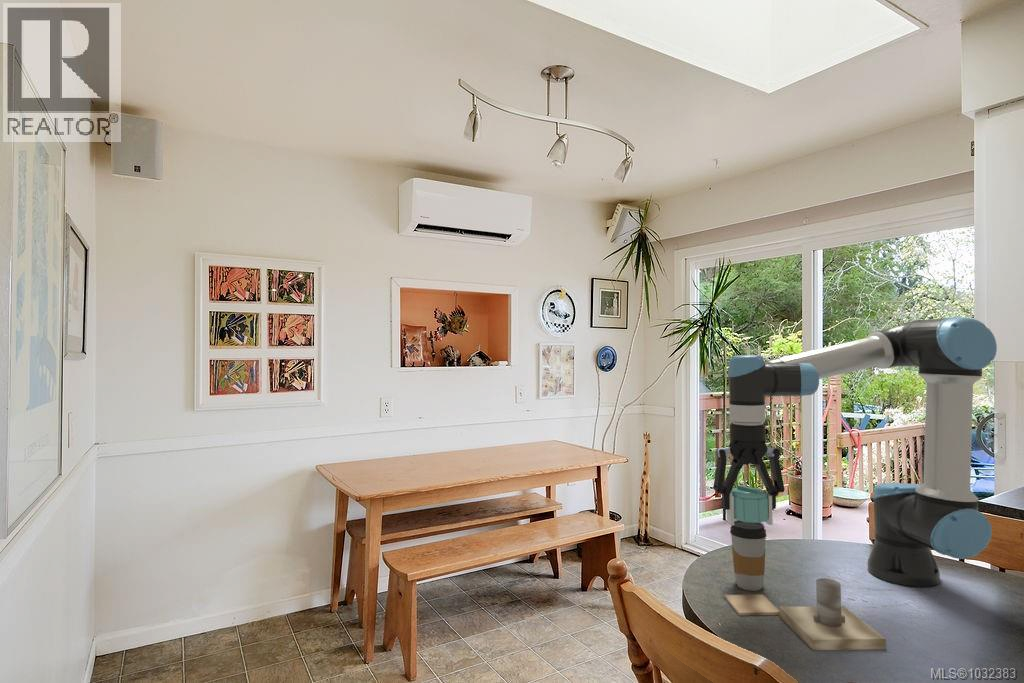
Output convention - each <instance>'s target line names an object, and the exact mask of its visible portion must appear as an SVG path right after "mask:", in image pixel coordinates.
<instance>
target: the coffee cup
mask: <svg viewBox="0 0 1024 683" xmlns="http://www.w3.org/2000/svg"><path fill="white" fill-rule="evenodd" d="M729 532H730V535H731V536H730V538H731V549H732V550H731V551H732V561H733V563H732V564H733V572H734V580H735V583H736V586H737V587H738V588H740V589H742V590H746V591H760V590H762V588H763V586H764V582H765V578H764V577H765V570H766V569H765V566H766V543H767V542H766V540H767V538H766V537H767V530H766V528H765V525H764V524H763V523H762V522H761V523H752V522H743V521H739V520H734V525H730V531H729Z"/></svg>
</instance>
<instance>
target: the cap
mask: <svg viewBox="0 0 1024 683" xmlns="http://www.w3.org/2000/svg"><path fill="white" fill-rule="evenodd" d="M767 493H768V492H767V490H764V489H761V488H757V487H751V486H747V485H743V484H740V485H737V486H736V487H733V488H732V491H731V493H730V494H731V495H732V496H734V520H735V521H737V520H739V521H743V522H752V523H761V524H762V523H766V522H765V521H768V498H767Z"/></svg>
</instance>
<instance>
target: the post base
mask: <svg viewBox="0 0 1024 683" xmlns="http://www.w3.org/2000/svg"><path fill="white" fill-rule="evenodd" d="M815 582H816V583H815V586H816V606H813V605H812V606H810V605H809V606H779V607H778V610H779V615H778V616H779V617H780V618H781V619H782V620H783V621H784V622H785V623H786V624H787V625H788V626H789V627H790V628H791V629H792V630H793V631H794V632H795V634H797V636H798V637H800V638H801V640H802V641H804V643H806V645H807V646H808V647H809V648H811V649H812V651H839V650H840V651H843V650H844V651H846V650H848V651H849V650H850V651H851V650H852V651H854V650H856V651H857V650H887V639H886V638H885V637H884V636H883V635H882V634H881V633H879V632H878V631H877V630H875V629H874V628H873V627H872V626H870V625H869V624H868V623H867V622H865V621H863V620H862V619H861V618H860V617H859V616H857V614H855V613H853V612H852V611H851V610H849V609H848V608H847V607H846V606H844V605H842V589H841V588H842V586H841V583H840V582H839V581H838V580H834V579H832V578H831V579H830V578H817V579H816V581H815Z"/></svg>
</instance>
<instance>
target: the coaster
mask: <svg viewBox="0 0 1024 683" xmlns="http://www.w3.org/2000/svg"><path fill="white" fill-rule="evenodd" d="M724 599H725V600H726V601H727V602H728V604H729V605H730V606H731V608H732V609H733V610H734V611H735V612H736V613H737V614H738V616H780V615H779V608H777V607H776V606H775V605H774V604H773V602H771V601H770V600H769V599H768V598H767V597H766V596H765V595H764V594H724Z"/></svg>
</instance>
